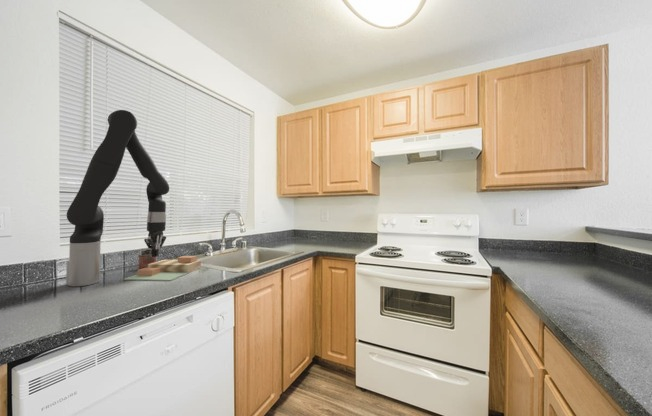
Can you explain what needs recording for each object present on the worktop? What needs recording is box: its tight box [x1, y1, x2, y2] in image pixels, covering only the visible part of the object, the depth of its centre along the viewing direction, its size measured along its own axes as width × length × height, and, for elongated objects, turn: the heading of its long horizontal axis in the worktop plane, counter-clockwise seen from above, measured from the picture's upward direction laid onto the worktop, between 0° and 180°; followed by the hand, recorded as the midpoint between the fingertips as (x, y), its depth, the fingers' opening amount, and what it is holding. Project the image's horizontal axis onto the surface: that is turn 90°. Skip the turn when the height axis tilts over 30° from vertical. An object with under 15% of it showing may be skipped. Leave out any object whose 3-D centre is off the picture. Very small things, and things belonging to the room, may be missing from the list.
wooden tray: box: [148, 259, 202, 274], centre depth 127 cm, size 20×12×4 cm, turn 89°
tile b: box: [177, 255, 198, 263], centre depth 129 cm, size 7×5×2 cm
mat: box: [123, 272, 189, 282], centre depth 114 cm, size 21×13×1 cm, turn 89°
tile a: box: [136, 268, 160, 276], centre depth 116 cm, size 7×5×2 cm
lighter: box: [137, 248, 157, 270], centre depth 131 cm, size 8×3×10 cm, turn 147°
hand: (154, 256), depth 120 cm, fingers closed
